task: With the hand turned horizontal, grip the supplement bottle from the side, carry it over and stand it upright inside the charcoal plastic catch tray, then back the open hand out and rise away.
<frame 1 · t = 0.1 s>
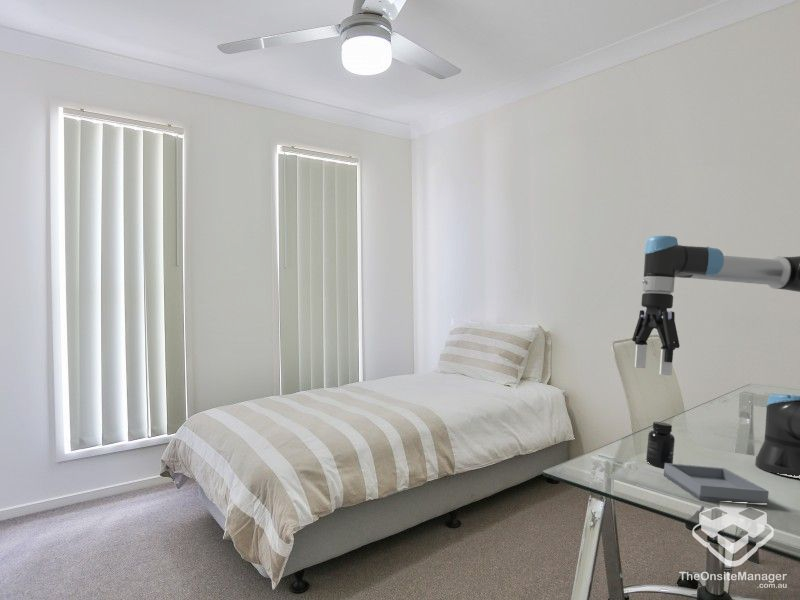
hand: (651, 371, 132), 28 cm above the table, tool pointing down, fingers open, 13 cm apart
supplement bottle: (659, 465, 141), on the table
charcoal tray: (712, 489, 123), on the table
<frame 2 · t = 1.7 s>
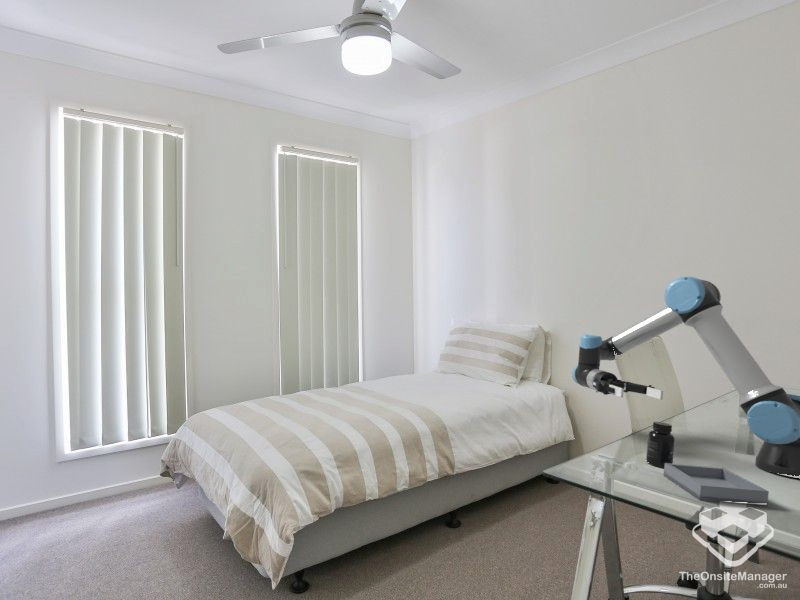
hand: (642, 394, 150), 19 cm above the table, tool horizontal, fingers open, 13 cm apart
nothing on the table moved.
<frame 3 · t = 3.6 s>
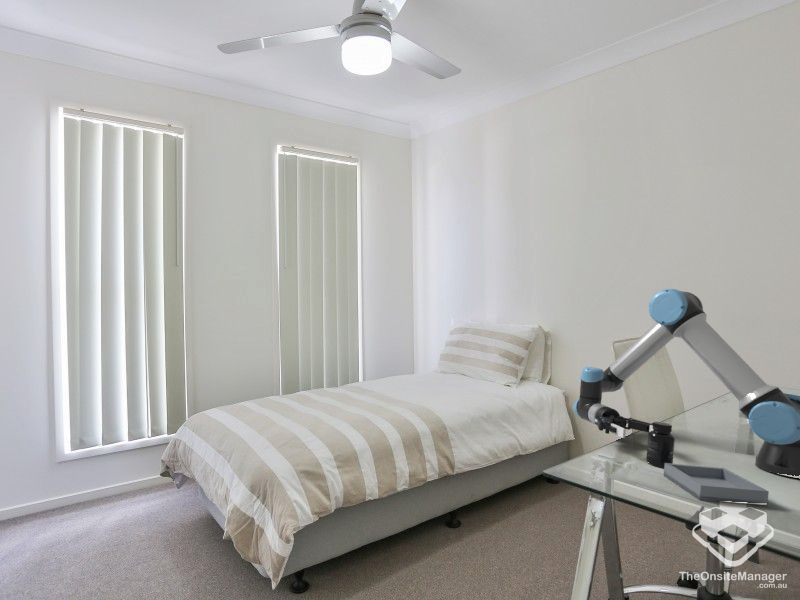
hand: (644, 434, 147), 7 cm above the table, tool horizontal, fingers open, 13 cm apart
nothing on the table moved.
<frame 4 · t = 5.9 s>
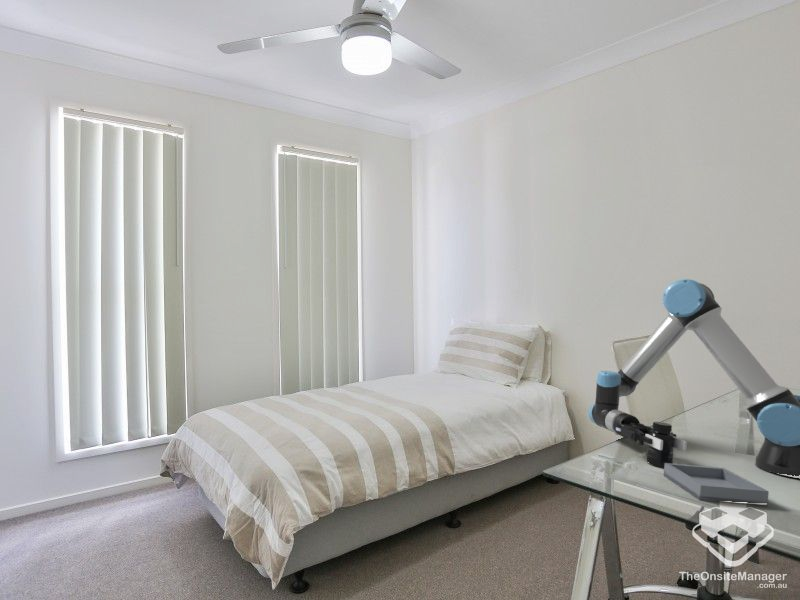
hand: (673, 445, 136), 7 cm above the table, tool horizontal, fingers closed on supplement bottle, 7 cm apart
supplement bottle: (659, 465, 141), on the table, touching gripper
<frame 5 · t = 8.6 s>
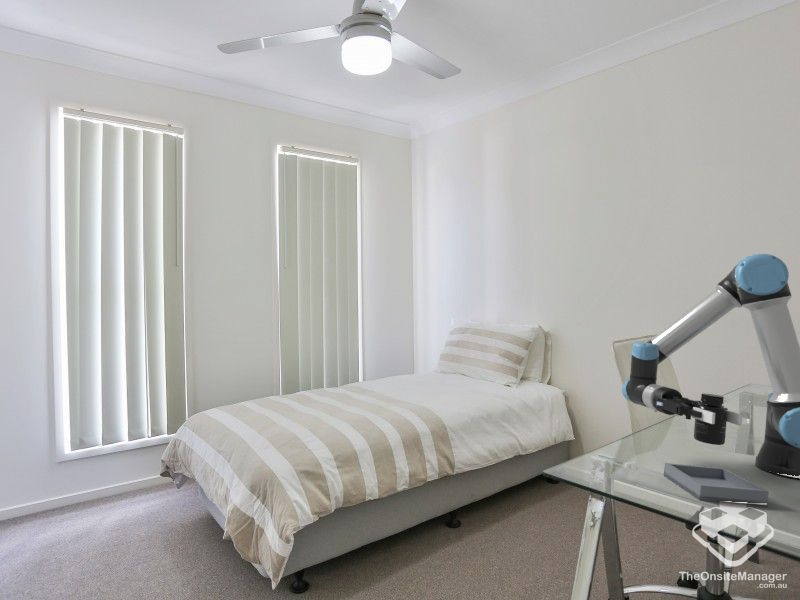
hand: (727, 419, 119), 19 cm above the table, tool horizontal, fingers closed on supplement bottle, 7 cm apart
supplement bottle: (708, 442, 124), point 12 cm above the table, touching gripper
when the fingers open (9 cm above the table, at t = 11.0 s): supplement bottle stays where it is, resting on charcoal tray.
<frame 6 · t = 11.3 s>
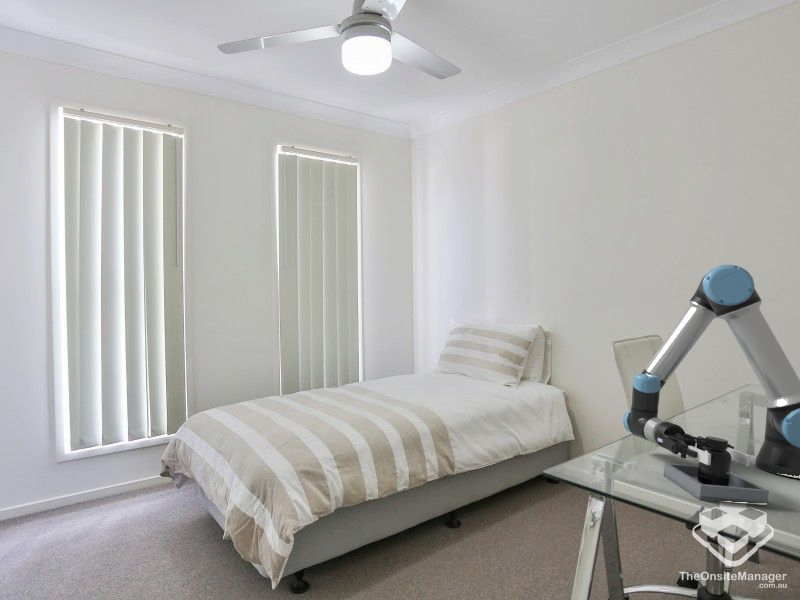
hand: (728, 460, 119), 9 cm above the table, tool horizontal, fingers open, 10 cm apart
supplement bottle: (712, 486, 123), point 1 cm above the table, touching charcoal tray
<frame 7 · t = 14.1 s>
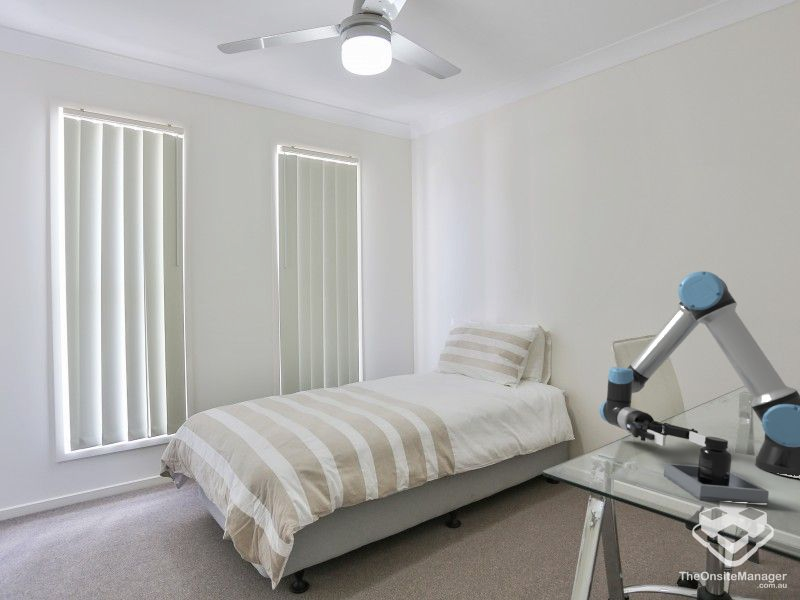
hand: (686, 442, 132), 9 cm above the table, tool horizontal, fingers open, 13 cm apart
nothing on the table moved.
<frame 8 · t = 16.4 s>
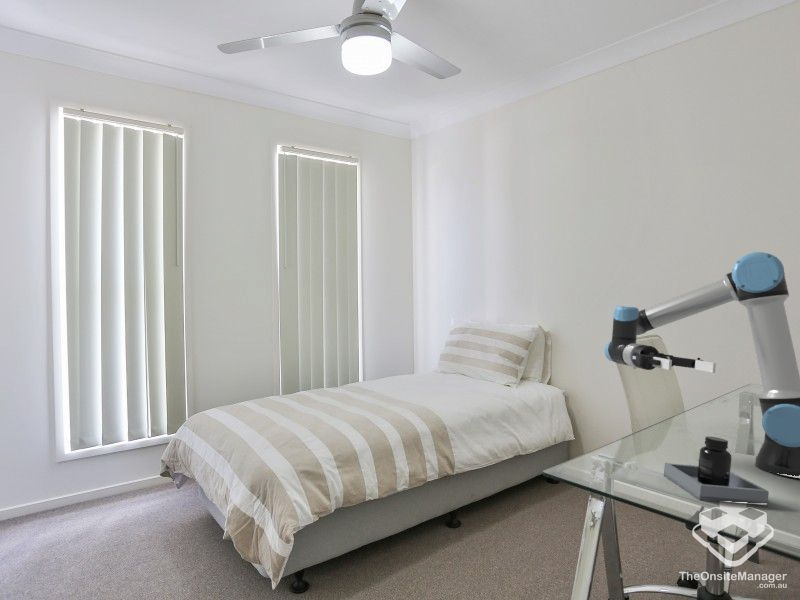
hand: (692, 366, 132), 30 cm above the table, tool horizontal, fingers open, 13 cm apart
nothing on the table moved.
at the end: supplement bottle inside the target area on the charcoal tray (0.1 cm from its centre), point 0.8 cm above the charcoal tray's base; supplement bottle tilted 0°; the gripper is holding nothing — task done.
